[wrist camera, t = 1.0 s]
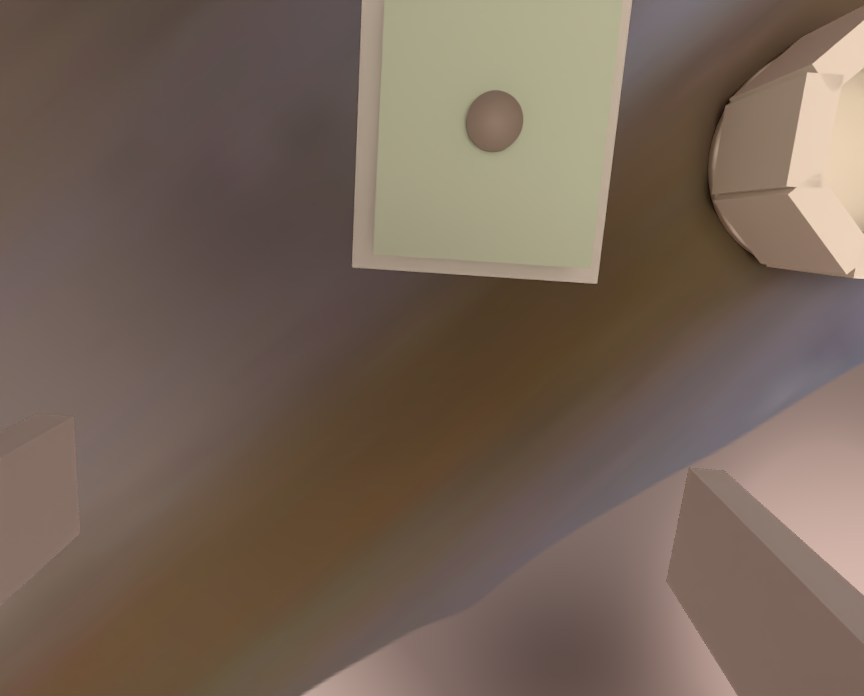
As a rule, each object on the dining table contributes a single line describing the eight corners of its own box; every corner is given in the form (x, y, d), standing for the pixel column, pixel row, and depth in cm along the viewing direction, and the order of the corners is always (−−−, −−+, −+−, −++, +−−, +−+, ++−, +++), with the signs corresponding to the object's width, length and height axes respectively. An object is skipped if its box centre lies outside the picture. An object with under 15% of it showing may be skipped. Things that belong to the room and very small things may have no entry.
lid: (393, -1, 28) (384, -46, 24) (599, 13, 29) (631, -28, 24) (381, 250, 31) (371, 255, 26) (570, 262, 31) (595, 269, 26)
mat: (363, -23, 29) (362, -27, 28) (630, -5, 29) (633, -8, 28) (352, 266, 32) (351, 267, 31) (595, 283, 32) (597, 283, 31)
